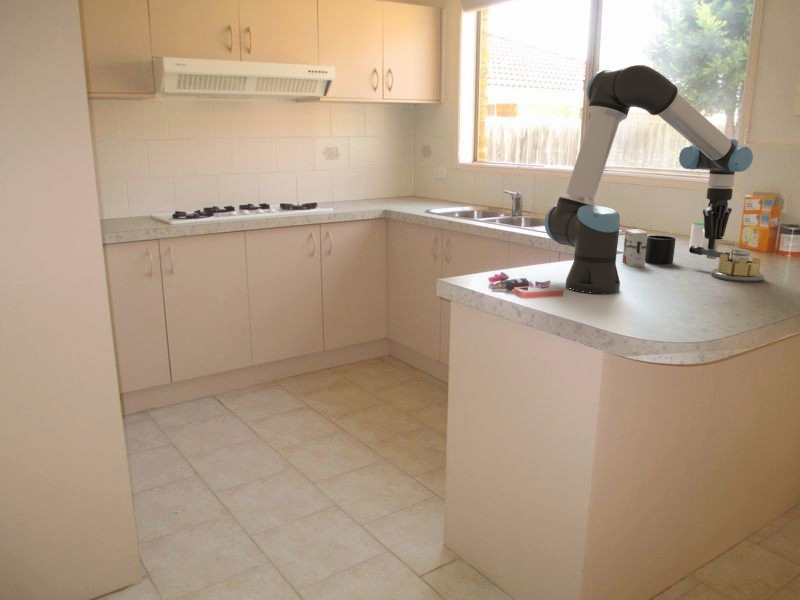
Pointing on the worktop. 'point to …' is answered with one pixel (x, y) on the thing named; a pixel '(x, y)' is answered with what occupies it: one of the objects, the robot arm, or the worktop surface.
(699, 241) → the mug
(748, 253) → the flange
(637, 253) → the ink box
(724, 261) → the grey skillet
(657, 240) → the mug
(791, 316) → the worktop surface
